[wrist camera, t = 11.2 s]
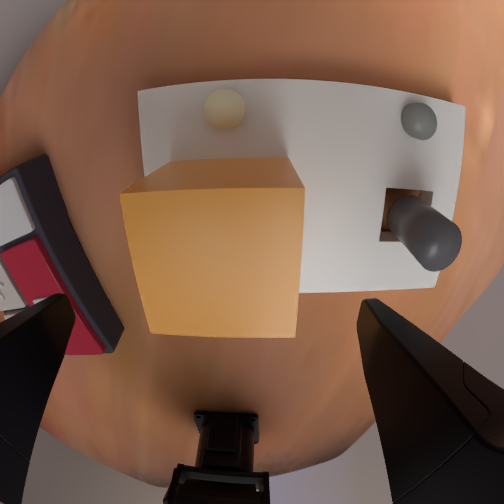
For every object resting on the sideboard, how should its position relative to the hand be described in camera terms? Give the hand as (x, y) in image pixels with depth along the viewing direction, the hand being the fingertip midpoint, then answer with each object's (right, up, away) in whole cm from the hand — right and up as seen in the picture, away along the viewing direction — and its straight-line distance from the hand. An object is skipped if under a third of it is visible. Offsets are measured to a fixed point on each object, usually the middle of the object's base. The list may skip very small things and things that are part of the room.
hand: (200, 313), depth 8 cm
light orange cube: (0, +4, +8) cm, 8 cm away
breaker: (+10, +4, +7) cm, 13 cm away
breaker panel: (+5, +5, +8) cm, 11 cm away
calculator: (-16, +1, +12) cm, 20 cm away
